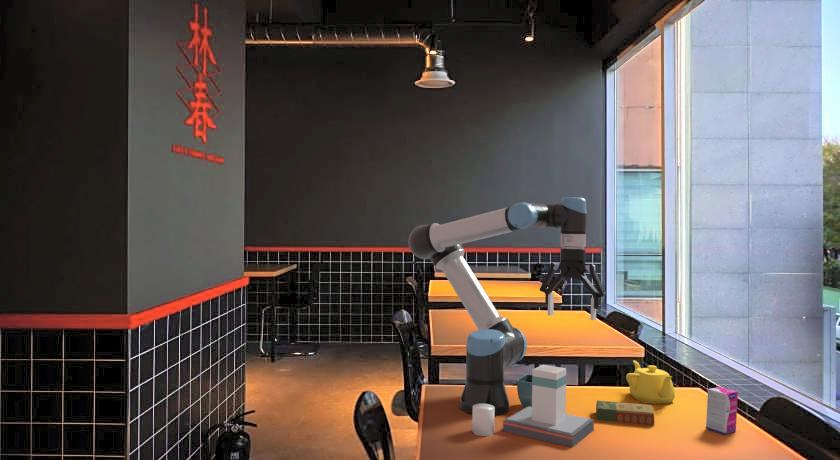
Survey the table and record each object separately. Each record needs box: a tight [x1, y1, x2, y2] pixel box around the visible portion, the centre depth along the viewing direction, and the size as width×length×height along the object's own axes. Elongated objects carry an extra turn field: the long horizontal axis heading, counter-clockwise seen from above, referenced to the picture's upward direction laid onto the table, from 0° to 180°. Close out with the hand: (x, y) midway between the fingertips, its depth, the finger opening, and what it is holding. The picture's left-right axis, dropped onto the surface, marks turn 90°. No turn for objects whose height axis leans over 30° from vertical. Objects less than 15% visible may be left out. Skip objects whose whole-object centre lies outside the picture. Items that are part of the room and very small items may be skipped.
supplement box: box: [705, 386, 739, 435], centre depth 175 cm, size 6×6×12 cm
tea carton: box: [531, 364, 567, 425], centre depth 172 cm, size 7×7×14 cm
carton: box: [595, 400, 655, 427], centre depth 184 cm, size 8×16×4 cm, turn 74°
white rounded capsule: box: [471, 404, 496, 437], centre depth 170 cm, size 6×6×7 cm
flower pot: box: [515, 373, 532, 409], centre depth 193 cm, size 9×9×9 cm
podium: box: [502, 406, 595, 448], centre depth 172 cm, size 20×16×3 cm
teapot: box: [625, 360, 676, 405], centre depth 204 cm, size 22×16×11 cm
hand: (571, 317), depth 190 cm, fingers open, 13 cm apart
